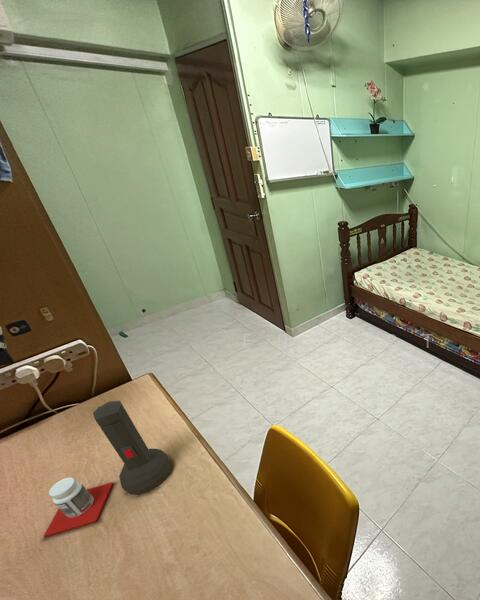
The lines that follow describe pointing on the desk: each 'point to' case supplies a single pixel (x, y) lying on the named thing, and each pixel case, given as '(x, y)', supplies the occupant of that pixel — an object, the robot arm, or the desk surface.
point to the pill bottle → (71, 497)
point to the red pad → (88, 517)
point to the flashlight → (132, 450)
